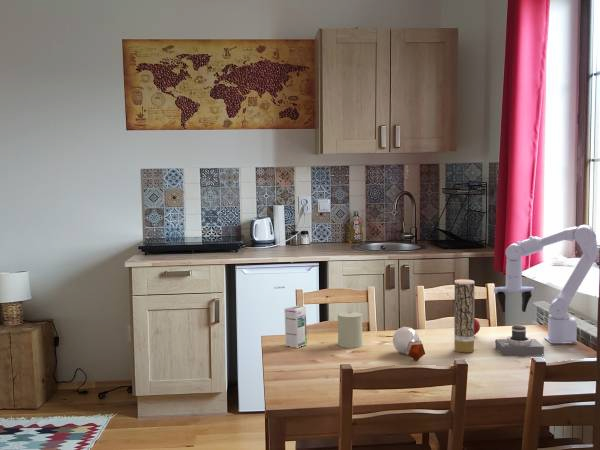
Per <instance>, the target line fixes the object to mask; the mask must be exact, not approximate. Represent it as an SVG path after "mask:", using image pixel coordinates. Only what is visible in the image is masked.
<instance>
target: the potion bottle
mask: <svg viewBox="0 0 600 450" xmlns="http://www.w3.org/2000/svg"><path fill="white" fill-rule="evenodd" d="M392 343H393V344H392V345H393V347H394V349H395V351H398V352H399V353H400V354H404V355H407V356H408V357H409V358H411V359H412V360H414V361H416V362H417V361H418V360H420V359H421V358H423V357H424V356H425V355H426V351H425V349H424V345H423V343H422V340H420V337H419V333H418V331H416V330H415V329H414V328H412V327H409V326H408V327H407V326H402V327H400V328H397V329H396V331H395V332H394V333H393V335H392Z"/></svg>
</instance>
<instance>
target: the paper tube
mask: <svg viewBox="0 0 600 450" xmlns="http://www.w3.org/2000/svg"><path fill="white" fill-rule="evenodd" d="M475 286H476V285H475V280H472V279H465V278H464V279H455V280H454V317H453V318H454V319H453V320H454V322H453V323H454V325H453V327H454V329H453V331H454V334H453V335H454V338H453V339H454V344H453V345H454V350H455V352H458V353H465V354H468V353H469V354H470V353H472V352H474V350H475V335H474V318H475Z"/></svg>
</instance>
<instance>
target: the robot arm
mask: <svg viewBox="0 0 600 450" xmlns="http://www.w3.org/2000/svg"><path fill="white" fill-rule="evenodd" d="M574 240H575V242H576V243H577V244H578V245H579V247H580V249H581V251H582V256H581V257H580V259H579V260H578V262H577V264H576V266H575V267H574V269H573V270H572V272H571V274H570V276H569V277H568V278H567V280H566V282H565V284H564V286H563V287H562V289H561V291H560V292H559V293H558V295H557V296H556V297H554V298H553V299H552V300H551V303H550V305H549V308H548V310H549V311H548V312H549V314H548V324H547V325H548V328H547V329H548V332H547V333H548V335H547V336H544V339H545V340H546V341H548V342H549V343H550V344H564V343H563V342H577V331H578V330H577V320H576V318H575V317H570V315H569V314H568V312H569V311H568V310H569V308H570V304H571V302H572V301H573V298H574V297H575V295H576V293H577V291H578V290H579V287H580V286H581V285H582V283H583V281H584V280H585V278H586V276H587V275H588V273H589V272H590V270H591V268H592V267H593V264H594V262H595V261H596V259H597V257H598V254H599V251H598V242H597V235H596V233H595V231H594V230H593V228H592V226H590V225H588V224H581V225H579V226H572V227H567V228H565V229H562V230H559V231H557V232H554V233H551V234H549V235H546V236H544V237H538V236H537V235H536V236H533V235H531V236H528V238H527V239H524V240H521V241H520V240H517V241H516V243H512V244H510V245H509V246H507V248H505V251H504V252H505V257H506V265H505V286H495V287H493V293H494V294H495V295H496V296H497V299H498V301H499V304H500V307H501V309H500V310H501V312H502V313H505V312H506V297H507V296H506V294H505V293H509V294H510V293H517V294H518V293H521V301H522V302H521V311H522V312H523V313H526V310H527V306H528V303H529V302H530V300H531V298H532V295H533V294H534V292H535V287H533V286H523V281H522V280H523V263H522V257H527V256H530V255H533V254H535V253H536V254H537V253H539V252H541V251H542V250H543V249H544V247H546V246H549V245H552V244H555V243H556V244H557V243H559V242H562V241H569V242H574ZM532 293H533V294H532Z"/></svg>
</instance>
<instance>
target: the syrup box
mask: <svg viewBox="0 0 600 450" xmlns="http://www.w3.org/2000/svg"><path fill="white" fill-rule="evenodd" d="M306 309H307V308H306V307H305V306H303V305H293V306H292V305H291V306H289V307H285V308H284V331H285V332H284V333H285V335H284V336H285V346H286V347H287V346H291V347H296V348H295V349H297V348H298V349H299V347H300V348H302V347H304V345H305V346H307V345H308V338H307V335H308V334H307V316H306V315H307V310H306ZM306 344H307V345H306ZM301 346H302V347H301ZM291 347H290V348H291Z"/></svg>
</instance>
